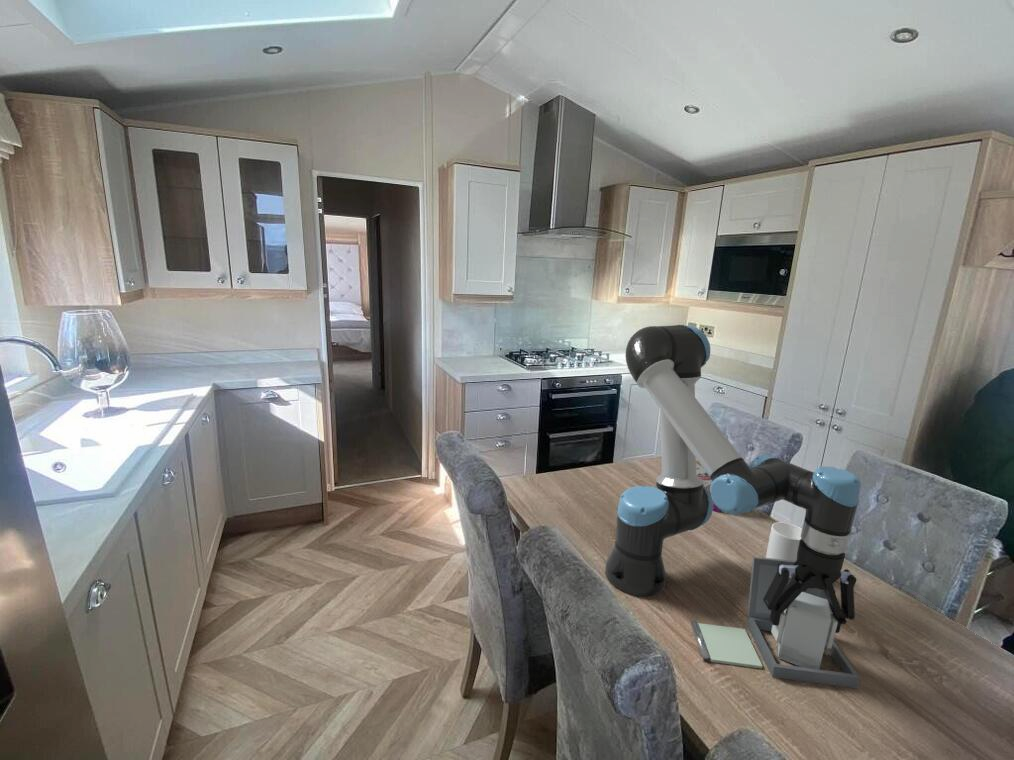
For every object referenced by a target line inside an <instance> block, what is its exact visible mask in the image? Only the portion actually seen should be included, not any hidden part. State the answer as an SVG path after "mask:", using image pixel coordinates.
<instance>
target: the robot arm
mask: <svg viewBox="0 0 1014 760" xmlns="http://www.w3.org/2000/svg"><path fill="white" fill-rule="evenodd" d="M710 357H711V344H710V341H709V338H708V337H707V335H706V334H705V333H704V332H703V331H702V330H701V329H700V328H698V327H696V326H693V325H685V324H676V325H675V324H674V325H658V326H657V325H653V326H646V327H643V328H641V329H639V330H637V331H636V332H635V333H633V335H632V336H631V337H630V338H629V340H628V341H627V344H626V348H625V362H626V366H627V369H628V371H629V373H630V375H631V377H632V378H633V380H634V381H635V383H636V384H637V386H638V387H639V388H641V389H646V391H647V392H648V394H649V395H650V397H651V398H652V399H653V401H655V403H656V405H657V406H658V408H659V410H660V444H661V445H660V446H661V448H660V449H661V450H660V451H661V453H660V454H661V473H660V474H659V475H658V476H657V477H656V478H655V479H656V480H655V481H656V482H655V483H656V484H655V485H656V486H655V487H654V486H648V485H646V486H643V485H637V486H632V487H629V488H627V489H626V490H624V491H623V493H621V495H620V497H619V501H618V503H619V504H618V506H617V516H616V517H617V518H616V527H615V539H614V545H613V547H612V549H611V551H610V552H609V555H608V557H607V559H606V561H605V568H604V569H605V570H604V573H605V577H606V579H607V580H608V582H609V583H610V584H611V585H612V586H614V587H615V588H616V589H618V590H620V591H622V592H624V593H626V594H629V595H633V596H639V597H649V596H654V595H658V594H659V593H661V592H662V591H663V590H664V588H665V586H666V581H667V580H666V578H667V572H666V569H665V564H664V560H663V556H662V555H663V554H662V552H663V545H664V540H665V539H667V538H670V537H674V536H676V535H680V534H682V533H685V532H687V531H694V530H696V529H698V528H700V527H701V526H703V525H705V524H707V522H708V521H709V520H710V519H711V517H712V515H713V512H714V511H713V502H714V504H715V505H716V506H717V507H718V508H719V509H720V510H721V512H723V513H725V514H727V515H738V514H743V513H748V512H752V511H755V509H758V508H761V507H763V506H766V505H770V504H773V503H776V502H778V501H781V500H783V501H786V502H788V503H790V504H792V505H795V506H796V507H799V508H802V509H804V510H805V514H804V515H805V516H804V520H803V525H802V527H801V528H802V532H801V539H800V542H799V547H798V551H797V560H796V562H795V563H794V564H793V565H784V564H783V563H782V562H780V563H778V567H777V573H776V575H775V577H774V579H773V581H772V583H771V585H770V587H769V589H768V591H767V593H766V595H765V597H764V599H763V601H764V603H765V604H766V606H767V608H768V609H769V610H772V611H771V615H770V620H771V622H772V624H773V626H772V630H771V631H770V632H771V634H772V636H773V638H774V640H775V641H776V643H778V642H781V637H782V633H783V628H784V624H785V619H786V615H785V613H784V611H785V610H786V608H787V607H788V606H789V605H790V604H791V603H792V602H793V601H794V600H795V599H796V598H797V597H798V596H799V595H800V593H801V592H805V591H806V590H807V589H808V588H811V589H812V588H817V589H820V590H824V592H825V595H826V600H828V603H829V607H830V615H831V623H830V627H829V631H828V635H827V640H826V644H825V645H826V647H827V648H830V649H831V648H832V644H833V640H834V641H835V635H836V634H839V632H840V631H841V627H842V625H846V624H847V620H846V619H848V620H851V621H852V620H855V617H856V615H855V613H856V612H855V611H856V610H855V589H854V588H855V586H856V582H857V580H858V579H857V577H856V576H855V575H854V574H853V573H852V571H850V570H849V569H848V568H847V569H843V566H844V561H845V557H846V553H845V552H846V551H847V548H848V543H849V540H850V536H851V533H852V528H853V523H854V521H855V516H856V512H857V509H858V505H860V504H859V503H860V494H861V488H862V482H861V480H860V478H859V477H858V476H857V475H856V474H854V473H852V472H850V471H849V470H845V469H843V468H836V467H834V466H819V467H817V468H816V469H815V471H814V472H813V471H811V470H808V469H806V468H803V467H800V466H798V465H795V464H793V463H790V462H788V461H786V460H784V459H782V458H779V457H776V456H775V457H774V456H772V455H769V454H759V455H757V456H756V458H755V459H753V460H752V461H751V463H750V464H749V465H748V463H747V462H746V460H744V458H743V457H742V456H741V455H740V453H739V452H738V449H736V448H735V447H734V445H733V444H732V443H731V441H730V440H729V439H728V438H727V436H726V435H725V434H724V433H723V431H722V430H721V429H720V427H719V426H718V424H717V423H716V422H715V421H714V420H713V418H712V417H711V416H710V414H709V413H708V412H707V411H706V409H705V408H704V407H703V406H702V404H701V403H700V401H698V399H697V398H696V383H697V382H698V381H699V380H700V379H702V368H703V367H704V366H705V365H706V364H707V362H708V361H709V359H710ZM696 459H697V460H698V462H699V463H700V464H701V466H702V467H703V469H704V470H705V471H706V473H707V474H708V475H709V477H710V478H711V480H712V481H713V482H712V484H711V487H710V493H711V495H710V494H708V490H707V489H706V487H705V486H703V480H702V479H701V478H700V477H698V476H697V473H696ZM711 496H712V497H711ZM712 500H713V501H712ZM842 569H843V570H842ZM792 573H796V574H795V575H794V576H793V577H792V576H791V575H792ZM791 577H792V579H791V582H790V583H789V584H788V585H787V583H788V580H789V578H791ZM838 580H839V584H840V585H839V586H840V603H839V600H838V598H837V595H836V590H835V587H834V583H835V582H837V581H838ZM800 581H801V582H802V584H801V583H800ZM786 585H787V586H786ZM840 604H841V605H840ZM826 647H825V648H826Z"/></svg>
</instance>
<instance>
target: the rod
mask: <svg viewBox="0 0 1014 760" xmlns="http://www.w3.org/2000/svg"><path fill="white" fill-rule="evenodd" d="M690 626H691V629H692V631H693V635H694V637H695V642H696V643H697V646H698V649H699V652H700V655H701V659H702V660H703V661H704V662H709V661H710V658H709V655H708V652H707V649H706V646H705V643H704V641H703V638H702V635H701V632H700V629H699V627H698V621H697V620H696V619H691V620H690Z"/></svg>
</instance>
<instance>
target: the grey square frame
mask: <svg viewBox="0 0 1014 760" xmlns="http://www.w3.org/2000/svg"><path fill="white" fill-rule="evenodd" d="M747 618H748V620H747V625H746V627H747V629H748V631H749V632H750V635H751V637H752V639H753V640H754V643H755V645H756V647H757V650H758V651H759V653H760V655H761V657H762V659H763V661H764V664H765V665H766V668H767V670H768V672H769V673H770V676H771V677H772V678H776V679H784V680H791V681H792V680H793V681H798V682H799V681H800V682H806V683H814V684H821V685H829V686H835V687H843V688H844V687H845V688H852V689H858V687H859V683H860V681H861V680H860V679H861V678H860V675H858V672H856V670H855V669H854V667H853V666H852V664H851V663H850V662H849V660H848V658H847V657H846V656H845V655H844V653H843V652H842V651H841V649H840V647H839V646H838V645H837V643H836V642H835V639H834V640H833V644H832V648H831V649H830V648H827V647H826V645H825V649H826V651H827V652H828V653H829V655H830V656H831V658H832V659H833V661H834V663H835V664H836V665H837V667H838V668H839V670H840V671H834V670H825V669H812V668H804V667H800V666H797V665H788V664H779V663H777V661H776V660H775V658H774V655H773V654H772V652H771V650H770V648H769V645H768V643H767V642H766V640H765V639H764V636H763V635H762V632H761V631H764V632H765V631H766V632H771V630H772V626H773V624H772V622H771V620H770V619H765V618H756V617H749V616H748V617H747Z"/></svg>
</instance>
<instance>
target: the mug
mask: <svg viewBox="0 0 1014 760" xmlns="http://www.w3.org/2000/svg"><path fill="white" fill-rule="evenodd" d="M802 528H803V527H800V526H798V525H795V524H793V523H789V522H782V521H781V522H779V521H777V522H774V523H773V524H771V529H770V534H769V538H768V543H767V548H766V549H767V550H766V555H765V558H771V559H781V560H790V561H796V560H797V551H798V547H799V542H800V539H801V532H802Z"/></svg>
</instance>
